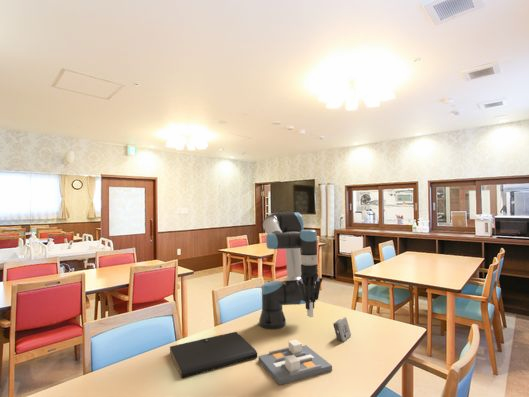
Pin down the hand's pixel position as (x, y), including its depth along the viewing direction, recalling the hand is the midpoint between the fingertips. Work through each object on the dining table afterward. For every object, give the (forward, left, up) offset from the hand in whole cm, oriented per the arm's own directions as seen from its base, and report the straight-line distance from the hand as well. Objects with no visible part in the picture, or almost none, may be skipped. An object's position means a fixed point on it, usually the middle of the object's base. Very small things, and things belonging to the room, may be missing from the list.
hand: (310, 316), depth 138 cm
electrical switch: (-7, +23, -17) cm, 30 cm away
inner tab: (0, -8, -14) cm, 17 cm away
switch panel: (+6, -12, -17) cm, 21 cm away
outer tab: (+12, -16, -14) cm, 25 cm away
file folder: (-17, -41, -18) cm, 48 cm away
